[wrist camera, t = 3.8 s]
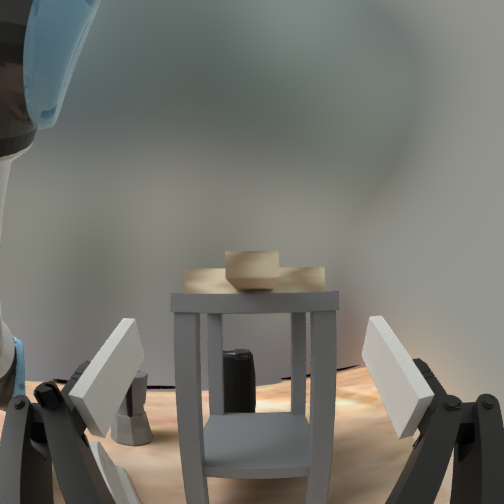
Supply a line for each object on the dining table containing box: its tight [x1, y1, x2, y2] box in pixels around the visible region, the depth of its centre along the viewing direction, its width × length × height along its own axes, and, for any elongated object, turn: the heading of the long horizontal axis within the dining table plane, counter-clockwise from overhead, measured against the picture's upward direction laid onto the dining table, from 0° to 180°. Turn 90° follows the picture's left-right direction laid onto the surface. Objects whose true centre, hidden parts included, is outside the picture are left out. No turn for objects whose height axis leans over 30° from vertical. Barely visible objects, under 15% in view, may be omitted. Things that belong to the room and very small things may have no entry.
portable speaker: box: [223, 349, 256, 413], centre depth 61 cm, size 9×9×20 cm
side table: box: [171, 291, 339, 504], centre depth 39 cm, size 18×24×30 cm
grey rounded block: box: [90, 442, 141, 504], centre depth 24 cm, size 17×5×10 cm, turn 33°
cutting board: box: [184, 251, 326, 294], centre depth 37 cm, size 16×31×3 cm, turn 179°
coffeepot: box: [111, 371, 152, 446], centre depth 49 cm, size 15×9×18 cm, turn 27°
